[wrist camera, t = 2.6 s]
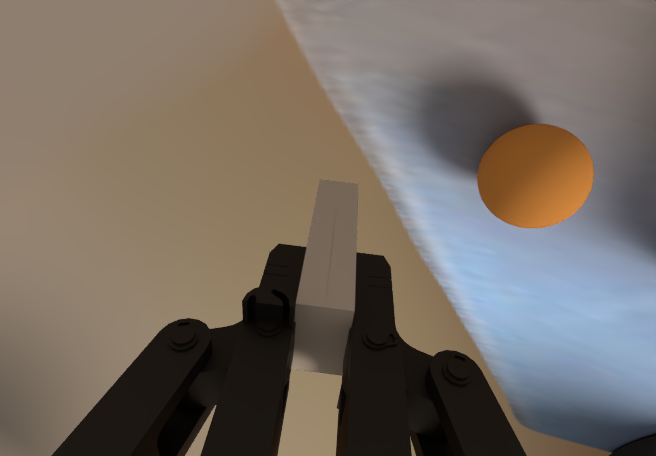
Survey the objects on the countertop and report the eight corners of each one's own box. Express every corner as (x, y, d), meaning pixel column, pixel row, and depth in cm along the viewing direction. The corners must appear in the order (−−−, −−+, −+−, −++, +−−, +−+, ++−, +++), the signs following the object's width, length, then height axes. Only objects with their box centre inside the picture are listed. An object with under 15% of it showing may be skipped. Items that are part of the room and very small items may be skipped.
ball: (543, 201, 25) (582, 255, 21) (457, 190, 25) (476, 241, 21) (584, 116, 22) (640, 158, 18) (485, 103, 22) (515, 142, 18)
